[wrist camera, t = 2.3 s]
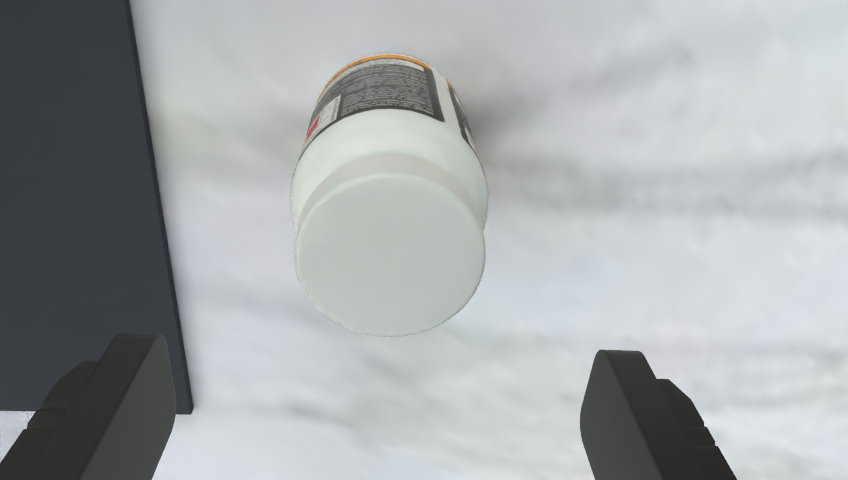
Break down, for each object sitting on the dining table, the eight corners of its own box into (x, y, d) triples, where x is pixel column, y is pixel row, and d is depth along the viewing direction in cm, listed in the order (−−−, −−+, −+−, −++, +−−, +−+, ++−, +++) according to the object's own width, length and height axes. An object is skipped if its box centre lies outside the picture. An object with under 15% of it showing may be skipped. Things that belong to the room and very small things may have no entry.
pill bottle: (289, 151, 24) (230, 302, 15) (359, 17, 22) (335, 105, 13) (416, 215, 26) (428, 384, 17) (494, 97, 23) (553, 223, 15)
